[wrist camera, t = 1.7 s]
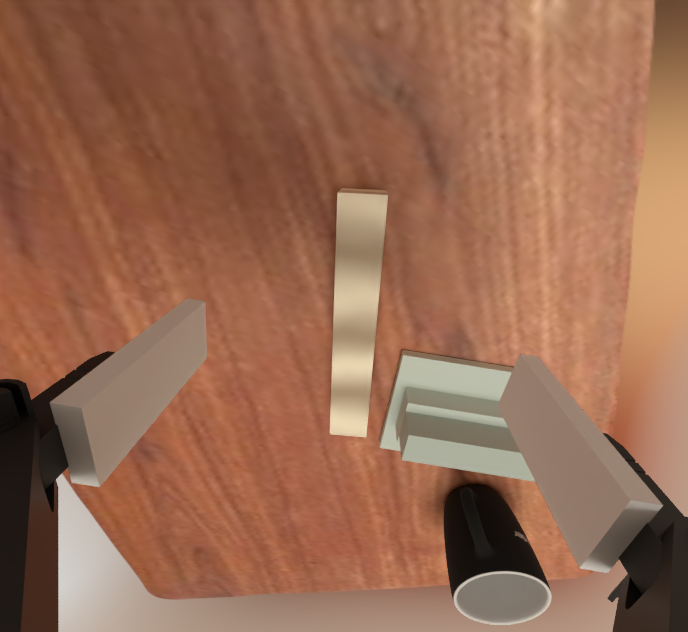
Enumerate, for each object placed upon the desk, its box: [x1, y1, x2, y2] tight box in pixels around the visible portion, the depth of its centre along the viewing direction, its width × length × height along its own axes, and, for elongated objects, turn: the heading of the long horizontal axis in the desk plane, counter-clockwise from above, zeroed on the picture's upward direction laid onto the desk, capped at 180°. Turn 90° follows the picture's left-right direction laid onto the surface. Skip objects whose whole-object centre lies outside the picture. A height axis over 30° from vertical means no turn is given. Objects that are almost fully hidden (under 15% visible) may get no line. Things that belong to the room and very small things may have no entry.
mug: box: [444, 485, 552, 625], centre depth 36 cm, size 12×9×10 cm
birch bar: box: [330, 188, 388, 437], centre depth 30 cm, size 22×4×4 cm, turn 178°
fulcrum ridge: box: [380, 350, 535, 482], centre depth 33 cm, size 12×14×6 cm
